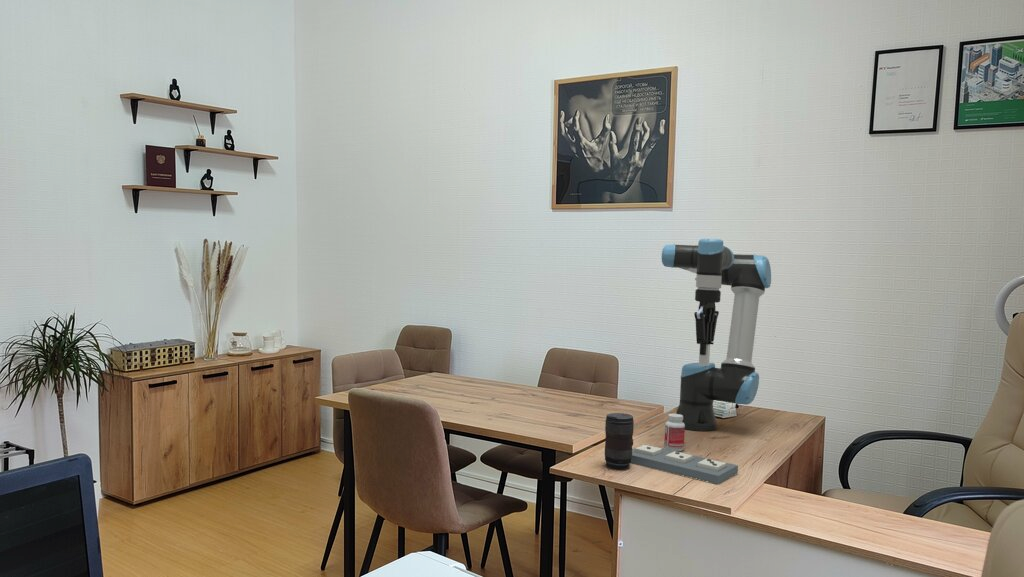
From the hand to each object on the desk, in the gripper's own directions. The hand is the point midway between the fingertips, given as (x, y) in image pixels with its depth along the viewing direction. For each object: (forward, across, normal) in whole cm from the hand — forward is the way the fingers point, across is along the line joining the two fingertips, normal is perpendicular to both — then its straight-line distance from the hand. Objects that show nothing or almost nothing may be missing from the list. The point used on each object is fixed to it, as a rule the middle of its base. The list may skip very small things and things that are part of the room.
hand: (703, 365), depth 224 cm
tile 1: (+28, +16, -9) cm, 34 cm away
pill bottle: (+29, -1, -9) cm, 30 cm away
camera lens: (+29, +29, -12) cm, 42 cm away
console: (+28, +16, +1) cm, 33 cm away
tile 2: (+28, +16, +1) cm, 33 cm away
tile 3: (+28, +16, +11) cm, 34 cm away
